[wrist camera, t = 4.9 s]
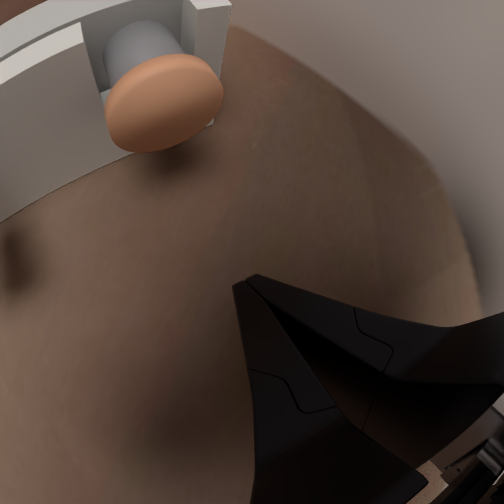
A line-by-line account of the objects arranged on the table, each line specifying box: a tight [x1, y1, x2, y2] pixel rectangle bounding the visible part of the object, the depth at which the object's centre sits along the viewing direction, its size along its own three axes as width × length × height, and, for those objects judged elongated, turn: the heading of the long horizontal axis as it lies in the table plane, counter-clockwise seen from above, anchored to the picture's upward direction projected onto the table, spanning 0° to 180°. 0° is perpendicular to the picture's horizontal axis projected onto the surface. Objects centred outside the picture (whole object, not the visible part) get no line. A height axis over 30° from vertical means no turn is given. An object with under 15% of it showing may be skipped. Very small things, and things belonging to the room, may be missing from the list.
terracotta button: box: [103, 20, 224, 153], centre depth 11 cm, size 5×5×5 cm
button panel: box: [0, 0, 232, 223], centre depth 12 cm, size 7×20×10 cm, turn 117°
